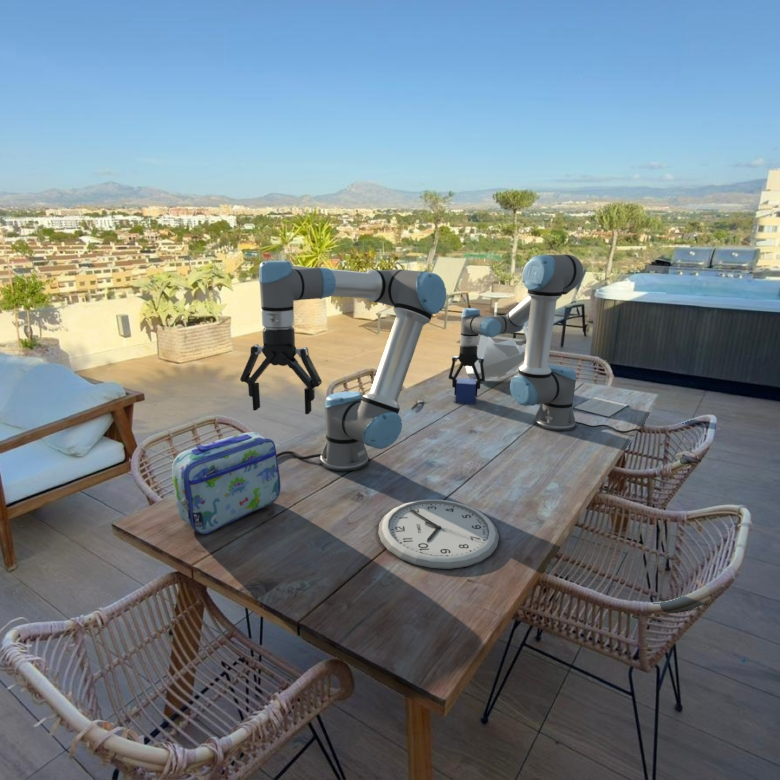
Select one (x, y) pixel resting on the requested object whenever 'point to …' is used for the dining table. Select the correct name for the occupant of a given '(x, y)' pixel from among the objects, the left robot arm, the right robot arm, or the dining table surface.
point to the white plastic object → (497, 356)
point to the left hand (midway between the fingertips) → (282, 410)
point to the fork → (418, 402)
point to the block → (465, 390)
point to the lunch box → (225, 480)
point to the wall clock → (438, 534)
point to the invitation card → (601, 406)
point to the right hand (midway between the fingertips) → (465, 395)
